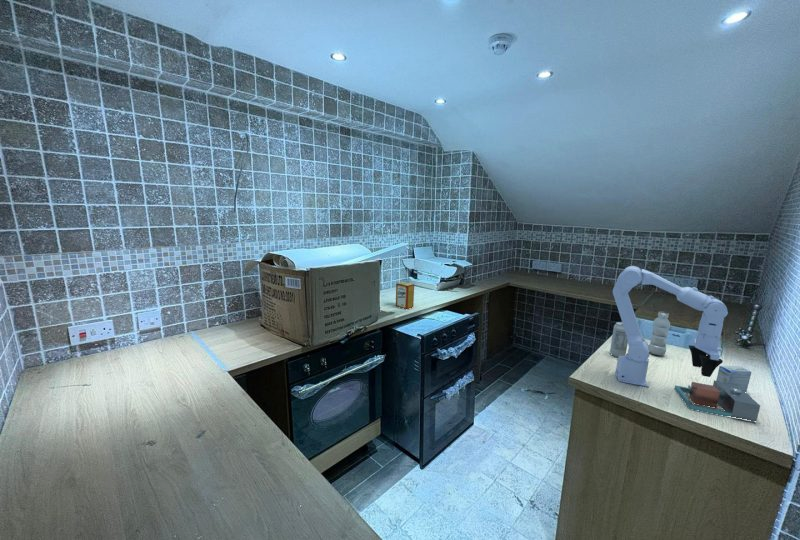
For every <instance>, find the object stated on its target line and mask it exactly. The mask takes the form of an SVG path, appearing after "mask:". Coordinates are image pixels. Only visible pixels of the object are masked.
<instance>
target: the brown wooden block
mask: <svg viewBox="0 0 800 540" xmlns="http://www.w3.org/2000/svg"><path fill="white" fill-rule="evenodd" d="M687 388H690V393H688V399H689V400H690V399H691V400H690V401H691V402H692V404H693V403H695V404H694V405H697V404H699V405H698V406H702V405H705V406H704V407H706V406H710V407H709V408H711V407H715V408H714V409H718V408H717V407H718V405H719V404H718V399H719V395H720V392H719V391H718V390H717V389H716V387H715V386H713V384H712V385H711V384H705V383H700V382H695V381H691V384H688V386H687Z"/></svg>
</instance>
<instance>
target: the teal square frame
mask: <svg viewBox="0 0 800 540" xmlns="http://www.w3.org/2000/svg"><path fill="white" fill-rule="evenodd" d="M712 386H715V387H716V389H717V390H718V391H719V392H720V395H719V399H718V404H717V405H719V407H720V406H721V407H722V408H723V409H724V410H725V411H724V410H723V409H722V408H721V407H720V408H721V409H718V408H711V407H706V406H702V405H697V404H693V402H692V401H691V400H690V398H689V396H687V395H686V394H687V393H688V394H689V393H690V388H688V386H681V385H676V384H675V385H674V390H676V391H675V393H677V394H679V395H678V396H679V397H680V399H681V398H682V399H683V400H682V399H681V400H682V402H684V403H686V404H685V405H686V406H687V408H688V407H689V408H690V409H693V410H692V411H695V410H699V411H698V412H700V411H703V412H702V413H705V412H708V413H707V414H710V413H713V414H712V415H715V414H718V415H717V416H719V415H723V416H722V417H724V416H731V417H736V418H742V419H747V420H751V421H756V422H757V421H758V417H759V412H760V409H761V404H759V403H758V402H757V401H756V400H754V398H752V397H751V396H750V395H749V394H748V393H747V392H746V393H745V392H744V391H743V390H742V389H741V388H740V387H739V386H738V385H736V384H731V383H726V382H720V381H716V380H713V383H712ZM685 393H686V394H685ZM689 408H688V409H689ZM690 409H689V410H690Z"/></svg>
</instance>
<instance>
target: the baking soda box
mask: <svg viewBox="0 0 800 540" xmlns="http://www.w3.org/2000/svg"><path fill="white" fill-rule="evenodd" d="M395 285H396V287H395V307H396V308H399V307H400V309H402V308H404V309H403V310H406V309H408V310H410V309H409V308H411V309H413V308H414V304H415V303H414V299H415V297H414V296H415V295H414V294H415V284H414V283H410V282H406V281H399V282H396V284H395ZM412 307H413V308H412Z"/></svg>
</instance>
